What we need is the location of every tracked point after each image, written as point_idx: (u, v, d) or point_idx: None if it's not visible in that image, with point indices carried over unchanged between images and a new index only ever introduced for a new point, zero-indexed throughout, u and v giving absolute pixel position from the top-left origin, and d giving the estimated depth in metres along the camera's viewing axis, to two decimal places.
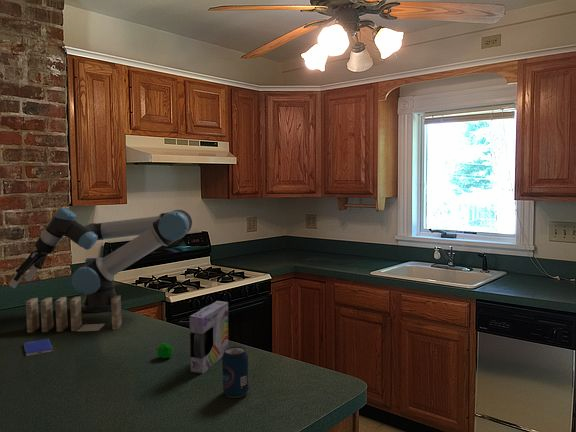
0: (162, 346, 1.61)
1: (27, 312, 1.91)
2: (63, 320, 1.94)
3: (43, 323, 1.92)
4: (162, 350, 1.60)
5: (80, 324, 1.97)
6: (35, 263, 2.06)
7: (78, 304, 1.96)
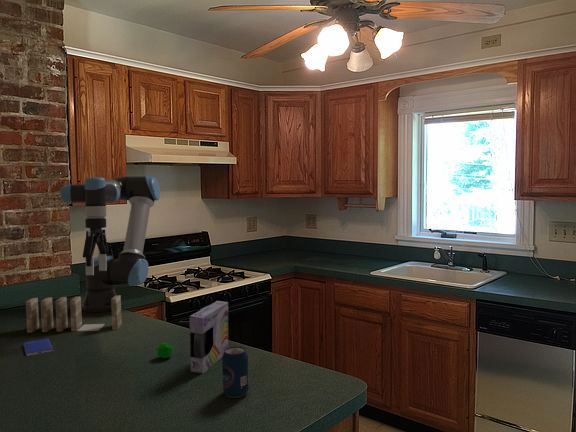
0: (162, 346, 1.61)
1: (27, 312, 1.91)
2: (63, 320, 1.94)
3: (43, 323, 1.92)
4: (162, 350, 1.60)
5: (80, 324, 1.97)
6: (97, 242, 1.90)
7: (78, 304, 1.96)
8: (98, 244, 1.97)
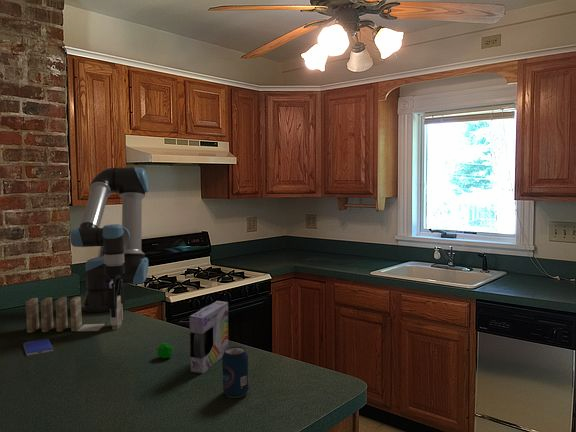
0: (162, 346, 1.61)
1: (27, 312, 1.91)
2: (63, 320, 1.94)
3: (43, 323, 1.92)
4: (162, 350, 1.60)
5: (80, 324, 1.97)
6: (118, 290, 1.94)
7: (78, 304, 1.96)
8: None
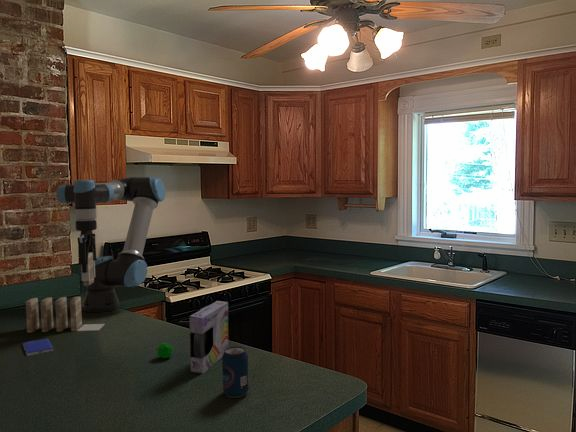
0: (162, 346, 1.61)
1: (27, 312, 1.91)
2: (63, 320, 1.94)
3: (43, 323, 1.92)
4: (162, 350, 1.60)
5: (80, 324, 1.97)
6: (89, 246, 1.92)
7: (78, 304, 1.96)
8: None
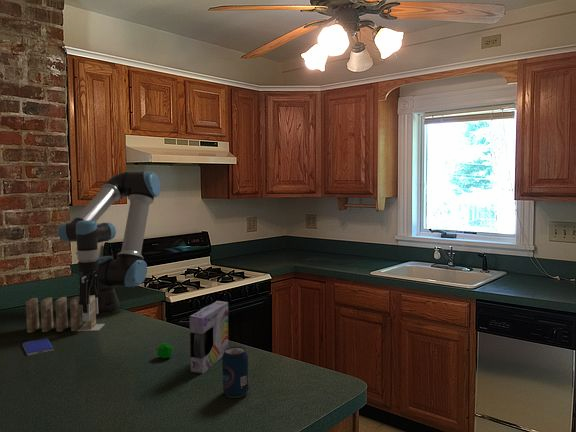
0: (162, 346, 1.61)
1: (27, 312, 1.91)
2: (63, 320, 1.94)
3: (43, 323, 1.92)
4: (162, 350, 1.60)
5: (80, 324, 1.97)
6: (91, 286, 1.93)
7: (78, 304, 1.96)
8: (90, 286, 1.98)
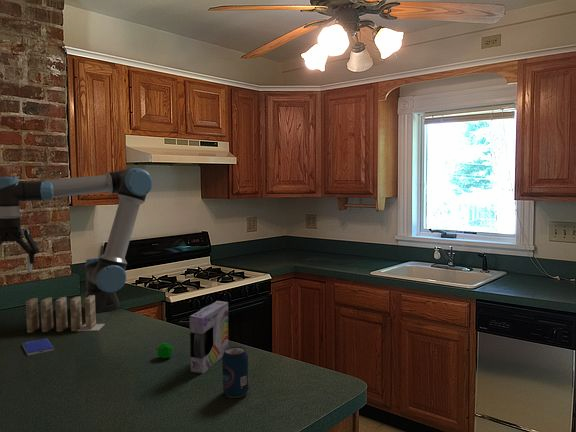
0: (162, 346, 1.61)
1: (27, 312, 1.91)
2: (63, 320, 1.94)
3: (43, 323, 1.92)
4: (162, 350, 1.60)
5: (80, 324, 1.97)
6: (0, 242, 1.90)
7: (78, 304, 1.96)
8: None
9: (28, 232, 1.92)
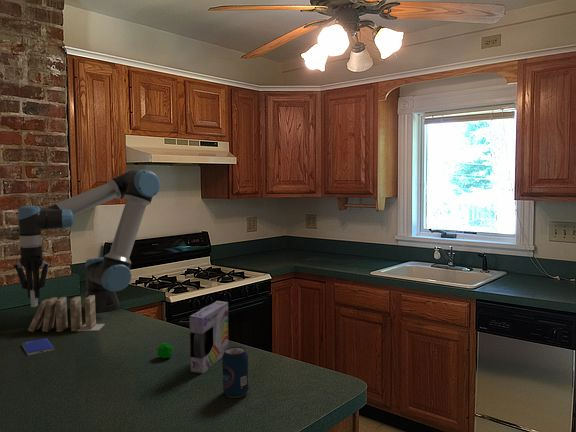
0: (162, 346, 1.61)
1: (37, 312, 1.92)
2: (63, 320, 1.94)
3: (45, 322, 1.92)
4: (162, 350, 1.60)
5: (80, 324, 1.97)
6: (28, 272, 1.92)
7: (78, 304, 1.96)
8: None
9: (47, 267, 1.93)
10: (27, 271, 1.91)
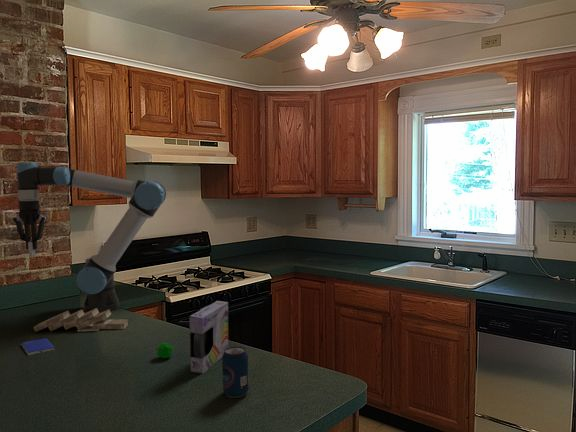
0: (162, 346, 1.61)
1: (52, 320, 1.92)
2: None
3: (56, 324, 1.93)
4: (162, 350, 1.60)
5: None
6: (26, 224, 2.04)
7: None
8: None
9: (44, 220, 2.05)
10: (25, 223, 2.04)
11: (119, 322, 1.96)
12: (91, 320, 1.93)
